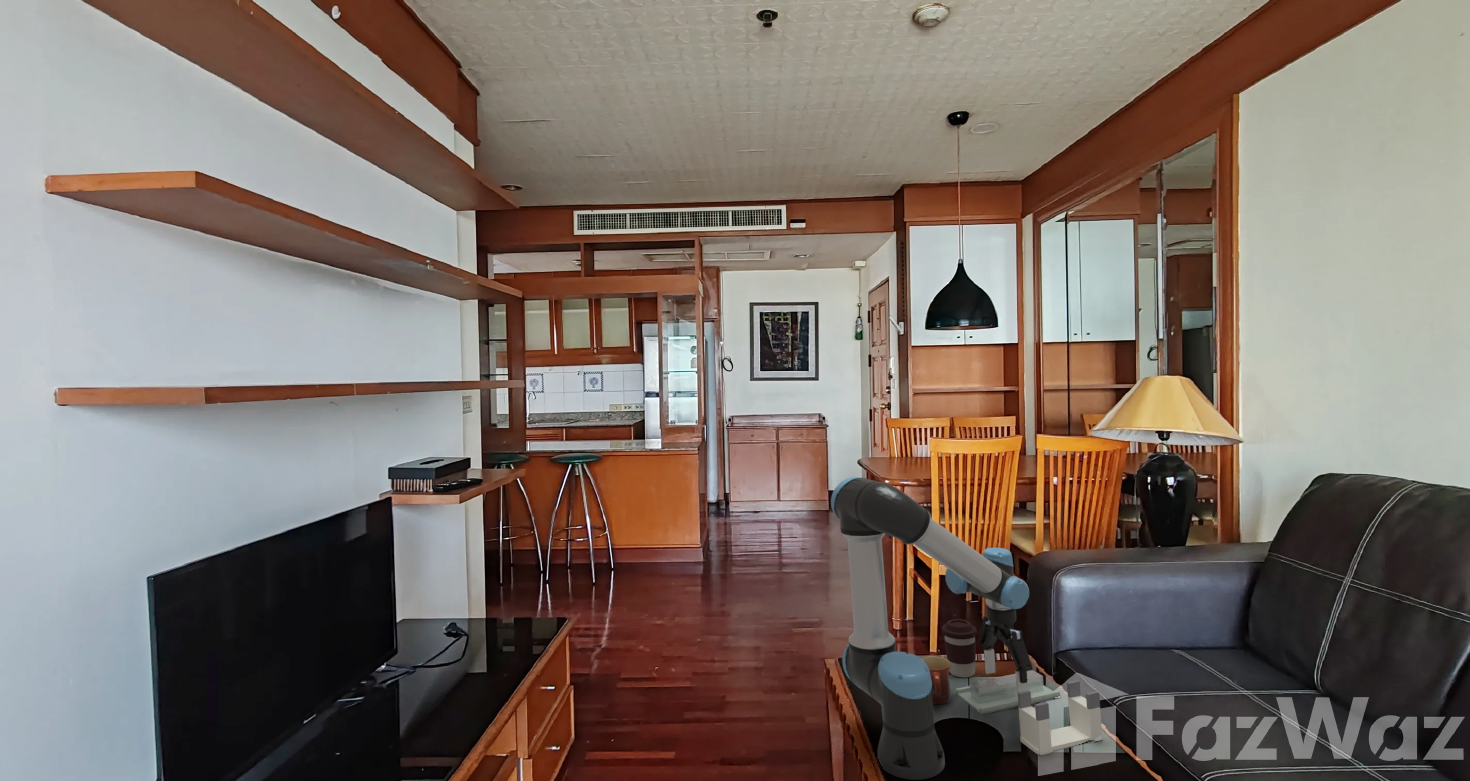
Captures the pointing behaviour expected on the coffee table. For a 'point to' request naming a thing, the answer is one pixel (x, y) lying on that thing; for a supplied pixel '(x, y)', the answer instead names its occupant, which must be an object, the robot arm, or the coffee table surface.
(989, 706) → the pad
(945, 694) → the mug
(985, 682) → the rail
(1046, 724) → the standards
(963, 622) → the coffee cup
